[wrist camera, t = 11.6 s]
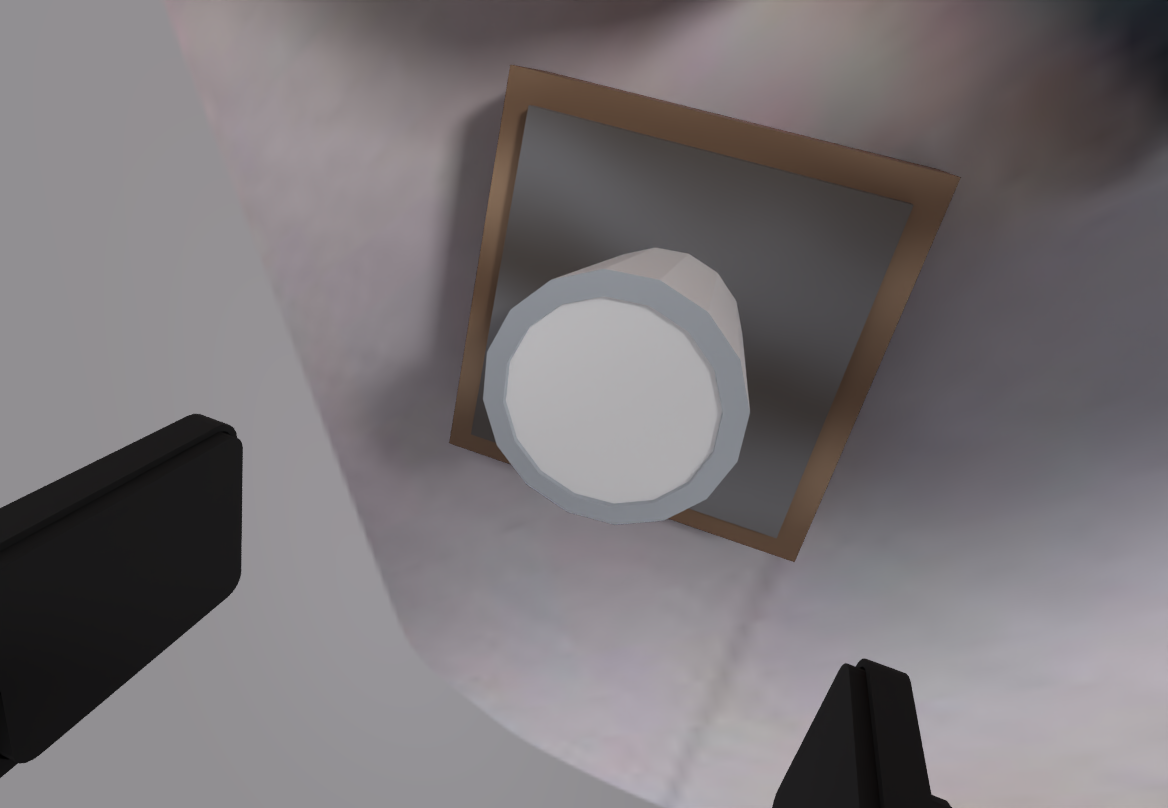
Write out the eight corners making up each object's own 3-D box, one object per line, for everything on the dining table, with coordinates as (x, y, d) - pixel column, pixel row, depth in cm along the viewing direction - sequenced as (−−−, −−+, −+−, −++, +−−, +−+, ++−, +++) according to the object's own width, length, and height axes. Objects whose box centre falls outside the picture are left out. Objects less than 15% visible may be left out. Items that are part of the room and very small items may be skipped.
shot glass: (565, 420, 26) (494, 516, 20) (552, 229, 24) (466, 270, 17) (758, 431, 24) (745, 539, 18) (765, 225, 22) (754, 269, 16)
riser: (545, 70, 26) (504, 63, 22) (938, 169, 24) (964, 178, 20) (483, 410, 32) (443, 448, 28) (794, 514, 30) (794, 569, 26)
